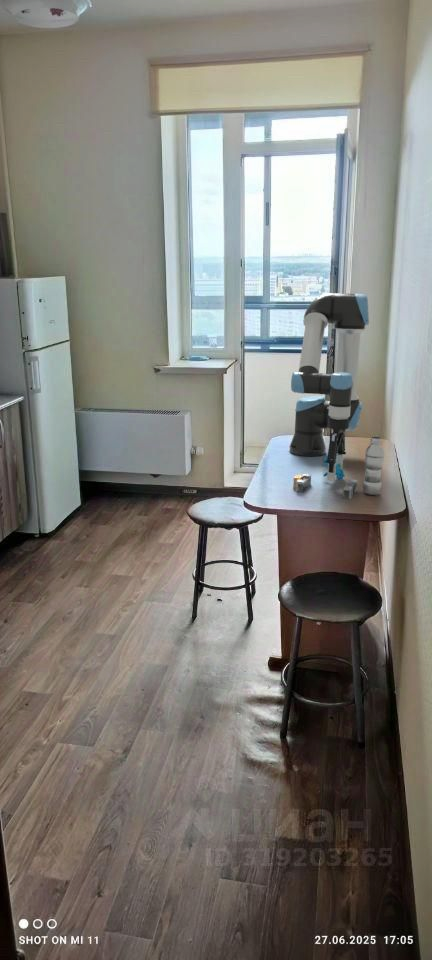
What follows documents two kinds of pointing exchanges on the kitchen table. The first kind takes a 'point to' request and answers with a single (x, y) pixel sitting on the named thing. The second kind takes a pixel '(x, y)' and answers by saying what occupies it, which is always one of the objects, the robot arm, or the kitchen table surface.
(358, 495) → the kitchen table surface
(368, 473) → the plastic bottle
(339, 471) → the gear
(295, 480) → the support blocks
